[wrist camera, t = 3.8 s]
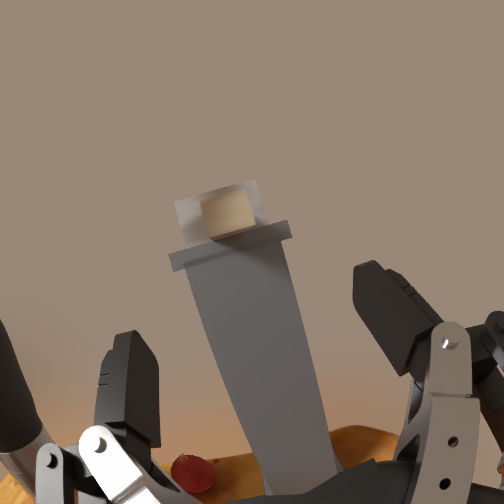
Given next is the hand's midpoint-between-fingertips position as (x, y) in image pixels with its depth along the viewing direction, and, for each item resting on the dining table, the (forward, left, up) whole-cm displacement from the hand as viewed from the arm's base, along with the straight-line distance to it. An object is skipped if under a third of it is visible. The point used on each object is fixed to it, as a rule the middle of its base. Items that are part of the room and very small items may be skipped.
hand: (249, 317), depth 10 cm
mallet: (0, +12, +3) cm, 12 cm away
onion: (-14, +18, -29) cm, 37 cm away
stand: (0, +16, -29) cm, 33 cm away
